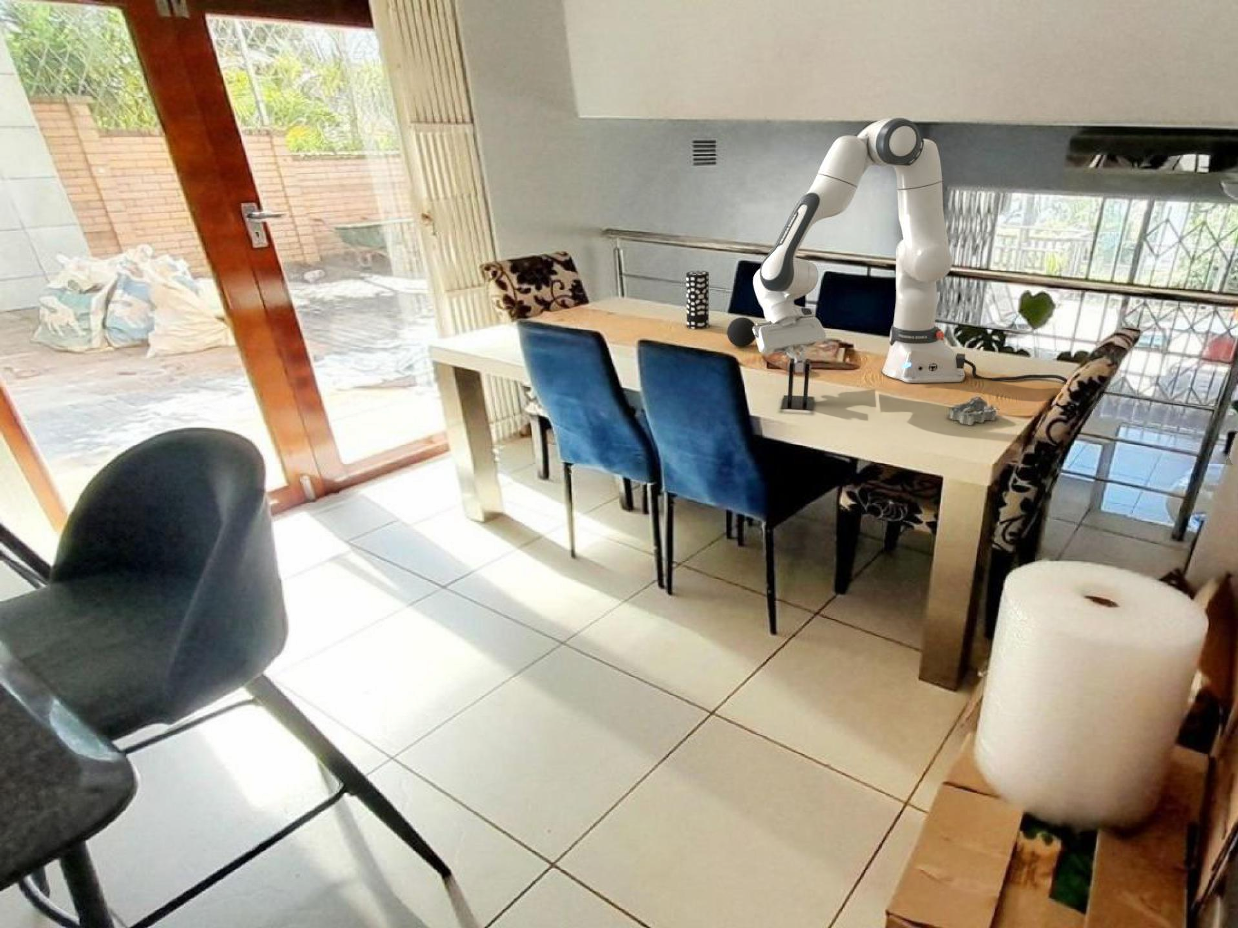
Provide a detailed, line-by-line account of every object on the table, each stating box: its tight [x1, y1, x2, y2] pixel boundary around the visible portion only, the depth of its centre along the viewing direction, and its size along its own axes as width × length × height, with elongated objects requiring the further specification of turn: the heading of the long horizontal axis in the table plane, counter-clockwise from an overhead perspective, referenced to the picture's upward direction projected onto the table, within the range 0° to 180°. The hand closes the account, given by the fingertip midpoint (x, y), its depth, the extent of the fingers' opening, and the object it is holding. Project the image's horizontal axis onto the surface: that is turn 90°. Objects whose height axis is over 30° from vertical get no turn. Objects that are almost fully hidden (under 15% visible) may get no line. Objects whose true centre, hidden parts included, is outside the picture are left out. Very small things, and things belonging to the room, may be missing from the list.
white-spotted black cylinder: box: [685, 270, 710, 330], centre depth 265 cm, size 8×8×20 cm
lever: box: [795, 363, 805, 376], centre depth 190 cm, size 13×3×3 cm, turn 164°
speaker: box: [726, 316, 756, 348], centre depth 240 cm, size 10×10×10 cm
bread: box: [761, 352, 806, 375], centre depth 218 cm, size 6×19×6 cm, turn 20°
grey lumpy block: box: [947, 395, 1000, 426], centre depth 176 cm, size 11×8×4 cm
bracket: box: [780, 358, 815, 412], centre depth 187 cm, size 10×8×13 cm
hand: (800, 361), depth 194 cm, fingers closed, pressing on lever
